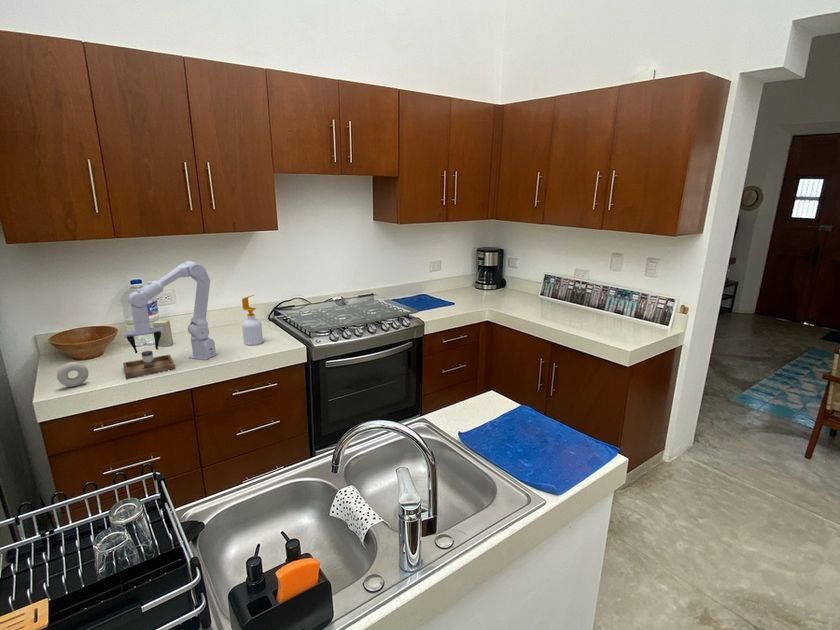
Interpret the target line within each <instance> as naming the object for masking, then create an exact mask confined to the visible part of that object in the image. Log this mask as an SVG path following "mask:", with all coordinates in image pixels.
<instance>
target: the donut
mask: <svg viewBox="0 0 840 630" xmlns="http://www.w3.org/2000/svg"><path fill="white" fill-rule="evenodd" d="M73 371H75V372H77V376H75V377H70V376H69V373H70V372H73ZM88 377H89V369H88V367H87V366H86V365H85V364H83V363H81V362H77V361H69V362H67V363H65V364H63V365H62V366H60V367H59V369H58V370H57V373H56V379H57V380H58V382H59V383H60V384H61V385H63V386H65V387H78V386H80V385H82V384H83V383H85V382H86V380H87V379H88Z"/></svg>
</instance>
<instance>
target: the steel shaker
mask: <svg viewBox="0 0 840 630" xmlns="http://www.w3.org/2000/svg"><path fill="white" fill-rule="evenodd" d="M153 357H154V353H153V350H145V351H142V352H141V358H142V359H143V365H144V369H147V368H152V367H155V365H154V359H153Z"/></svg>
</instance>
